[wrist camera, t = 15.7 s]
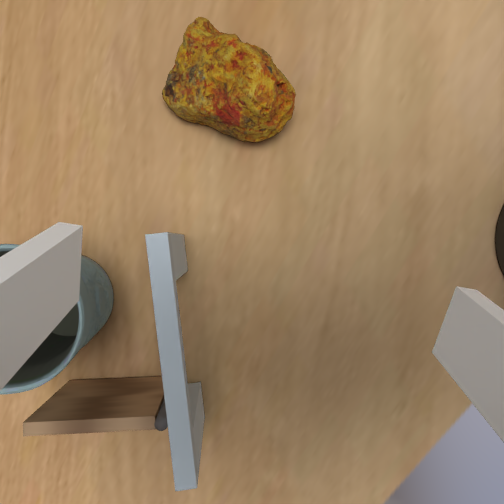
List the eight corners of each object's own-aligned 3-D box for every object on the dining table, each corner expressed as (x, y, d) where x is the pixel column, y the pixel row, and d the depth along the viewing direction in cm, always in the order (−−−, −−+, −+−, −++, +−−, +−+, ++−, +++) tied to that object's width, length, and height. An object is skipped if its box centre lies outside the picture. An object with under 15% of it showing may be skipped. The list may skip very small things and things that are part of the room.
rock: (208, 152, 43) (135, 93, 36) (235, 85, 45) (171, 14, 37) (294, 154, 36) (227, 82, 29) (323, 75, 38) (267, -15, 30)
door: (181, 375, 39) (167, 417, 30) (181, 398, 39) (168, 446, 30) (69, 380, 39) (20, 424, 29) (70, 403, 39) (22, 454, 29)
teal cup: (-7, 304, 38) (-112, 333, 26) (61, 220, 39) (-12, 211, 27) (80, 369, 39) (16, 426, 27) (146, 287, 39) (113, 307, 27)
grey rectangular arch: (204, 417, 40) (197, 488, 28) (189, 419, 40) (175, 491, 28) (183, 234, 39) (167, 232, 28) (168, 236, 39) (145, 234, 28)
